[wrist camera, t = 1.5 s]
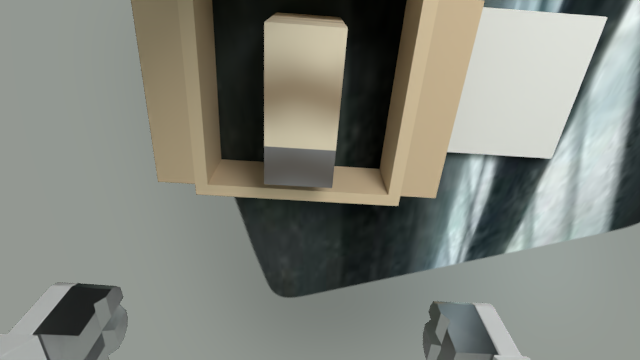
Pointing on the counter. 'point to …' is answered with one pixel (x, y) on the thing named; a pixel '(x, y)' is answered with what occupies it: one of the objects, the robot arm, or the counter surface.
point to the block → (302, 97)
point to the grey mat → (522, 81)
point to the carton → (348, 182)
